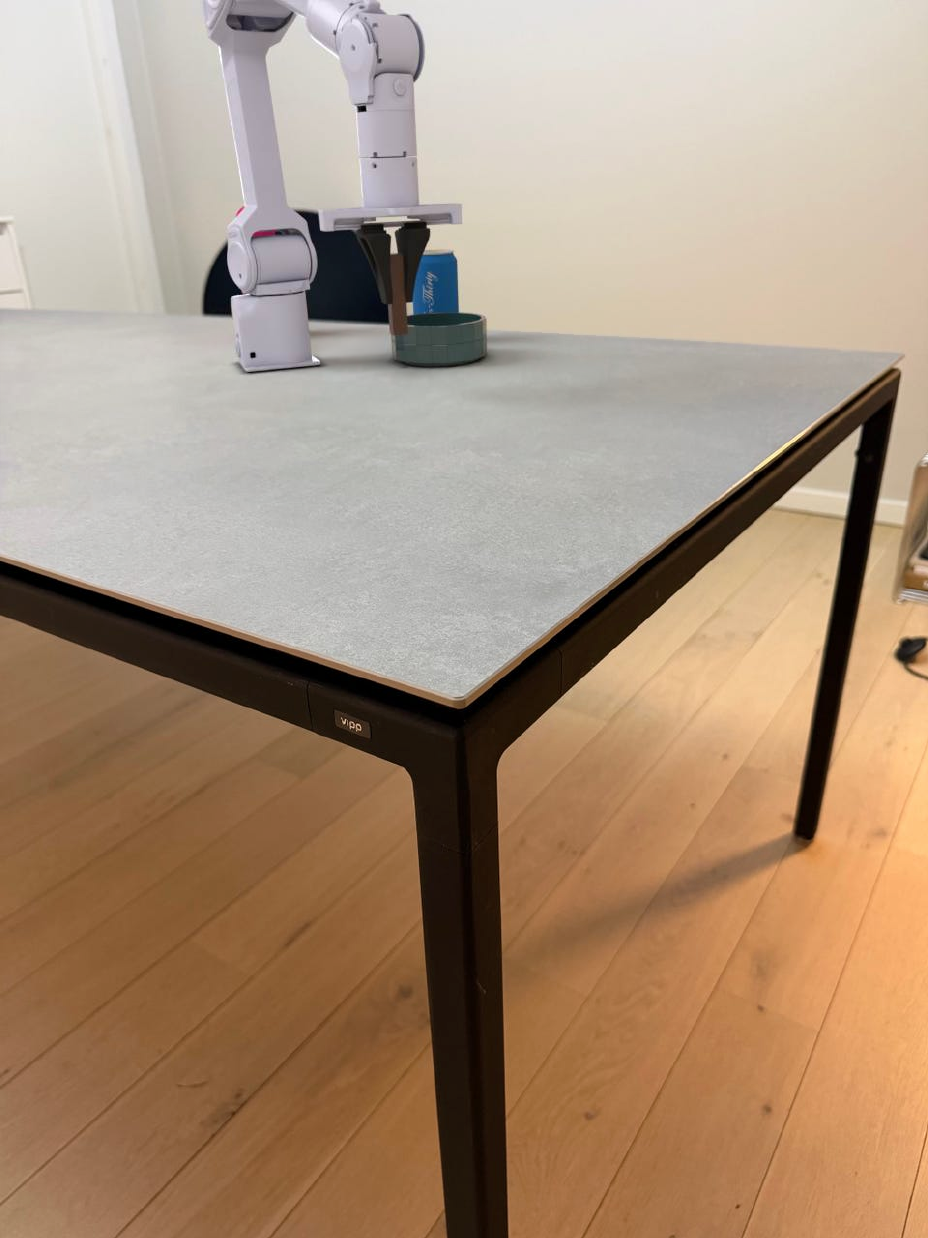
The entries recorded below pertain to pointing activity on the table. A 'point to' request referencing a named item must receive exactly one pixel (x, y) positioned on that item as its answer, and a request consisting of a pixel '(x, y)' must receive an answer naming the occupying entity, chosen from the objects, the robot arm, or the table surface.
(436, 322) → the bowl
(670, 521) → the table surface
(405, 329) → the stirring stick
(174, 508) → the table surface
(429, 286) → the beverage can
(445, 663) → the table surface
